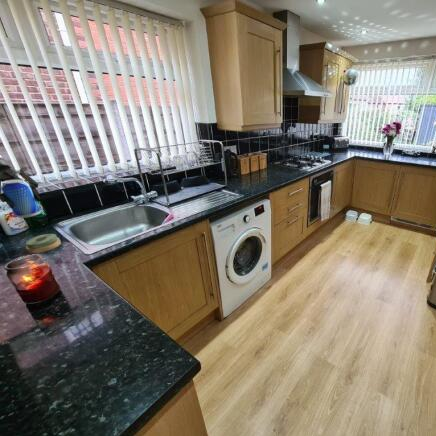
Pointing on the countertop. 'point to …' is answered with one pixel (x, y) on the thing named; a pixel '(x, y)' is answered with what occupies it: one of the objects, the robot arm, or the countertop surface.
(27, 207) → the blue canister
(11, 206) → the robot arm
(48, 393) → the countertop surface
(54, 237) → the green frosted donut
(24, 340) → the countertop surface
